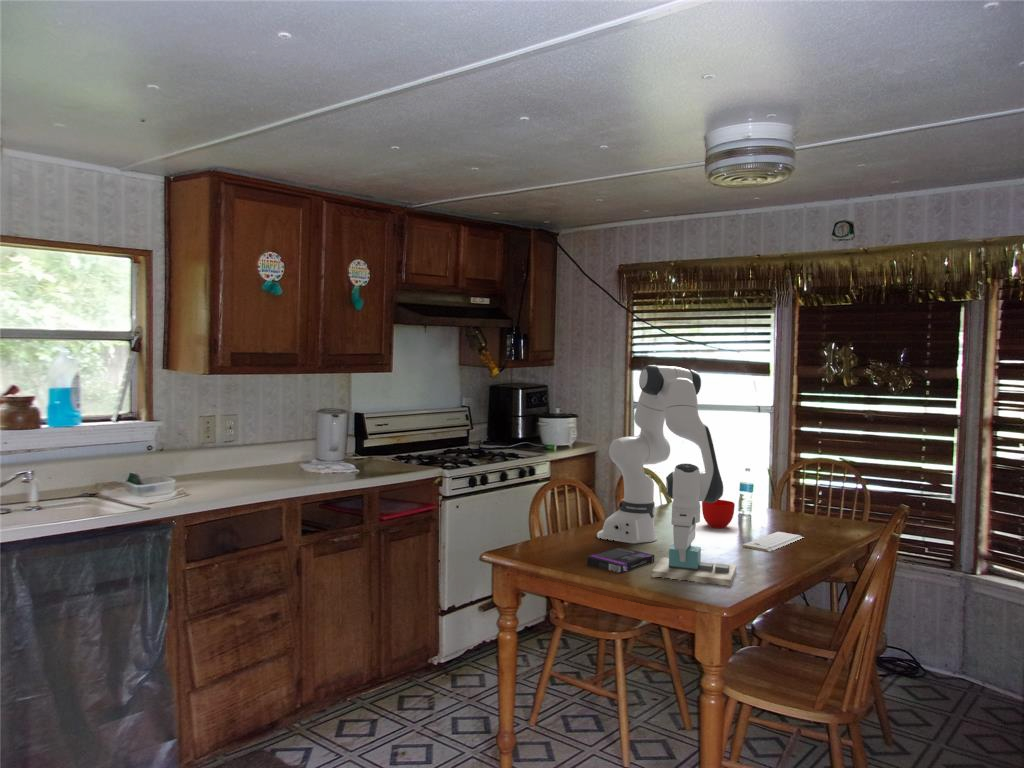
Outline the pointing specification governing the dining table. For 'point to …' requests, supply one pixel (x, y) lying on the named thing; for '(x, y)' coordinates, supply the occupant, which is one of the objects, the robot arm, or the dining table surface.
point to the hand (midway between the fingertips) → (684, 558)
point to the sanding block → (691, 558)
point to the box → (619, 559)
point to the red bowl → (718, 513)
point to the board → (694, 573)
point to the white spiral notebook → (773, 541)
